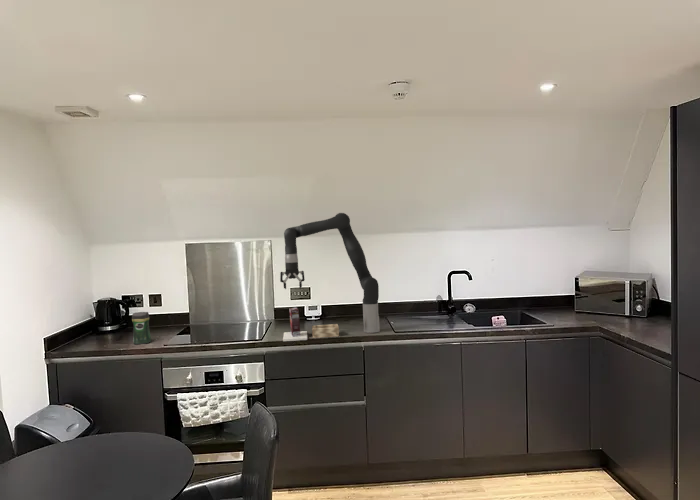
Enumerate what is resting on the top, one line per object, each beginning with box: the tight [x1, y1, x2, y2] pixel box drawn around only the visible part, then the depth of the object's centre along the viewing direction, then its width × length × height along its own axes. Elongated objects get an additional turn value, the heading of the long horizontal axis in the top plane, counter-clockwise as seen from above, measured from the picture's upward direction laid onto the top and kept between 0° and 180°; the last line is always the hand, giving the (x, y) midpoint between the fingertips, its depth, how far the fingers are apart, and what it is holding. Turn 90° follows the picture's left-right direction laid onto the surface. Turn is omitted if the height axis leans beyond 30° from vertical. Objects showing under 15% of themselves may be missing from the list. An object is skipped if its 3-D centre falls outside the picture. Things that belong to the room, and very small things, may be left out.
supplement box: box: [289, 307, 301, 337], centre depth 314 cm, size 9×5×16 cm, turn 14°
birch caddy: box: [311, 323, 340, 339], centre depth 316 cm, size 16×12×5 cm
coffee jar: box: [131, 311, 152, 345], centre depth 315 cm, size 10×8×19 cm
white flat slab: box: [282, 330, 308, 342], centre depth 315 cm, size 14×20×1 cm
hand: (292, 288), depth 313 cm, fingers open, 8 cm apart
